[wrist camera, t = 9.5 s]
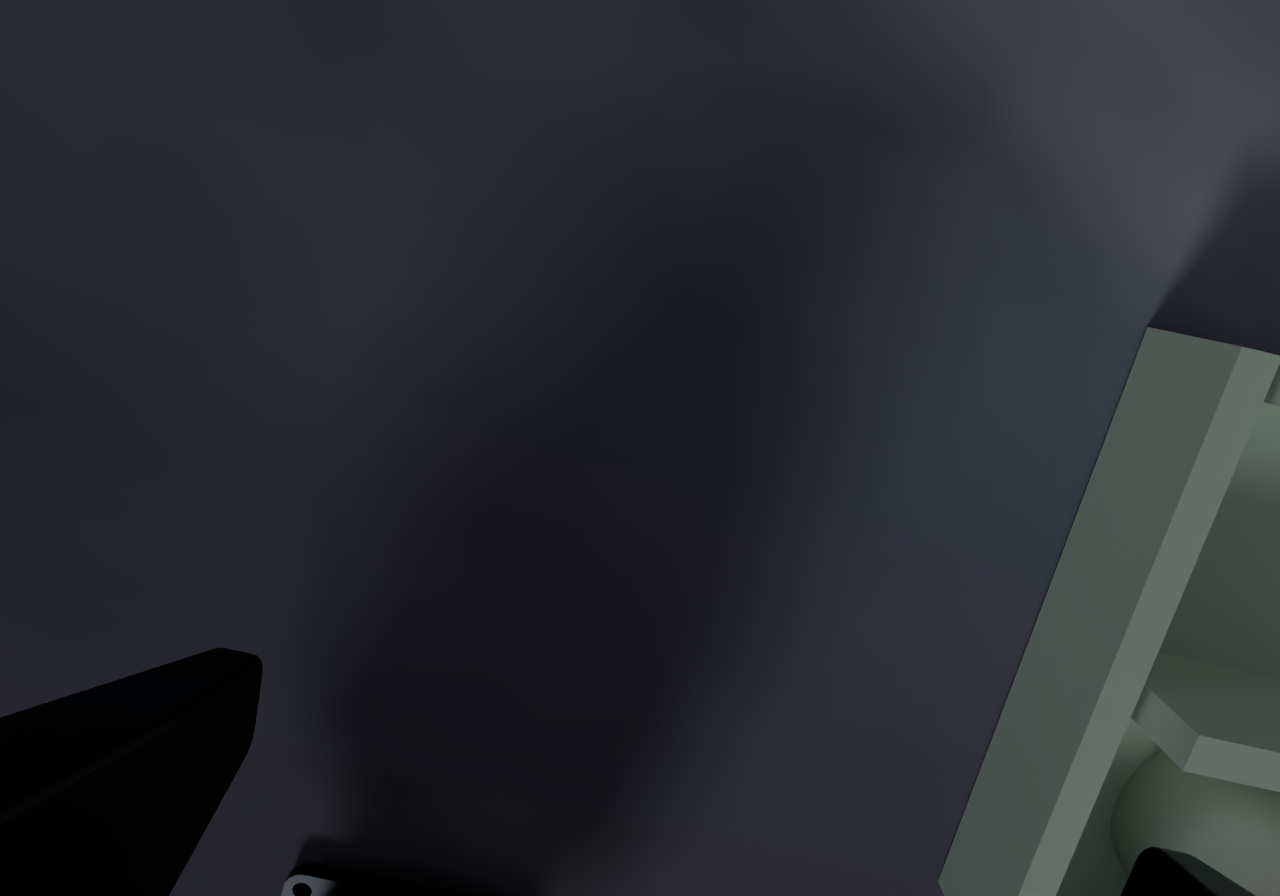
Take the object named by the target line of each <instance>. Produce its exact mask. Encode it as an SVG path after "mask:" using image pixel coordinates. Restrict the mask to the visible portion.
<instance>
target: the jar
mask: <svg viewBox="0 0 1280 896" xmlns="http://www.w3.org/2000/svg"><path fill="white" fill-rule="evenodd" d="M1111 834H1112V841H1113V845H1114V849H1115V852H1116V854H1117V857H1118V859H1119V861H1120V863H1121V864H1122V866H1123V867H1124V868H1125V870H1126V871H1127V873H1128V874H1129V875H1130V873H1131V870H1132V868H1133V866H1134V864H1135V861H1136V859H1137V857H1138V855H1139V854H1140V853H1141V852H1142V851H1143V850H1144V849H1146V848H1149V847H1160V848H1165V849H1170V850H1175V851H1179V852H1184V853H1187V854H1190V855H1192V856H1194V857H1196V858H1198V859H1199V860H1201V861H1202V862H1204V863H1206V864H1207V865H1209V866H1210V867H1212V868H1213V869H1215V870H1216V871H1218V872H1220V873H1221V874H1223V875H1224V876H1226V877H1227V878H1229V879H1230V880H1232V881H1234V882H1235V883H1237V884H1238V885H1240V886H1241V887H1243V888H1245V889H1246V890H1248V891H1249V892H1251V893H1252V894H1254V895H1255V896H1280V792H1277V791H1272V790H1267V789H1263V788H1258V787H1254V786H1249V785H1244V784H1240V783H1235V782H1230V781H1226V780H1221V779H1217V778H1212V777H1207V776H1203V775H1198V774H1194V773H1189V772H1184V771H1182V770H1181V769H1180V768H1179V767H1178V766H1177V765H1176V763H1175V762H1174V761H1173V760H1172V759H1171V758H1170V757H1169V756H1168V755H1167V754H1166V753H1165V752H1164V751H1163V750H1161V751H1159V752H1158V753H1156V754H1155V755H1153V756H1152V757H1151V758H1149V759H1148V760H1147V761H1146V762H1144V763H1143V764H1142V765H1141V766H1140V767H1139V768H1138V769H1137V770H1136V771H1135V772H1134V773H1133V775H1132V776H1131V777H1130V778H1129V779H1128V781H1127V782H1126V784H1125V785H1124V787H1123V789H1122V790H1121V792H1120V795H1119V797H1118V799H1117V801H1116V804H1115V807H1114V810H1113V816H1112V823H1111Z"/></svg>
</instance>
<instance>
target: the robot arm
mask: <svg viewBox="0 0 1280 896" xmlns="http://www.w3.org/2000/svg"><path fill="white" fill-rule="evenodd" d="M262 671H263V669H262V662H261V660H260V658H259V657H258V656H256V655H254V654H250V653H245V652H241V651H236V650H231V649H227V648H215V649H212V650H209V651H206V652H203V653H199V654H196V655H193V656H190V657H187V658H184V659H181V660H178V661H175V662H172V663H168V664H165V665H162V666H159V667H156V668H153V669H150V670H147V671H144V672H140V673H137V674H134V675H131V676H128V677H125V678H122V679H119V680H116V681H113V682H109V683H106V684H103V685H100V686H97V687H94V688H91V689H88V690H85V691H81V692H78V693H75V694H72V695H69V696H66V697H63V698H60V699H57V700H54V701H50V702H47V703H44V704H41V705H38V706H35V707H32V708H29V709H26V710H22V711H19V712H16V713H13V714H10V715H7V716H4V717H1V718H0V896H169V894H170V892H171V891H172V889H173V887H174V885H175V884H176V882H177V880H178V879H179V877H180V875H181V873H182V872H183V870H184V868H185V866H186V864H187V862H188V861H189V859H190V857H191V855H192V853H193V852H194V850H195V848H196V846H197V844H198V842H199V841H200V839H201V837H202V835H203V833H204V832H205V830H206V828H207V826H208V824H209V822H210V821H211V819H212V817H213V815H214V813H215V812H216V810H217V808H218V806H219V804H220V802H221V801H222V799H223V797H224V795H225V793H226V791H227V790H228V788H229V786H230V784H231V782H232V781H233V779H234V777H235V775H236V773H237V771H238V770H239V768H240V766H241V764H242V762H243V761H244V759H245V757H246V755H247V753H248V750H249V748H250V745H251V742H252V739H253V735H254V731H255V724H256V717H257V709H258V702H259V694H260V687H261V680H262ZM300 883H305V884H307V885H309V887H310V888H306V887H304V886H302V885H301V884H300ZM282 896H465V895H460V894H455V893H450V892H445V891H440V890H435V889H430V888H425V887H420V886H415V885H410V884H405V883H400V882H396V881H391V880H386V879H381V878H376V877H371V876H366V875H361V874H356V873H351V872H346V871H341V870H336V869H332V868H327V867H322V866H317V865H312V864H301V865H298V866H296V867H295V868H294V869H293V870H292V871H291V872H290V874H289V876H288V878H287V879H286V881H285V884H284V886H283V891H282ZM1120 896H1255V895H1254V894H1252V893H1251V892H1249V891H1248V890H1246V889H1245V888H1243V887H1241V886H1240V885H1238V884H1237V883H1235V882H1234V881H1232V880H1230V879H1229V878H1227V877H1226V876H1224V875H1223V874H1221V873H1220V872H1218V871H1216V870H1215V869H1213V868H1212V867H1210V866H1209V865H1207V864H1206V863H1204V862H1202V861H1201V860H1199V859H1198V858H1196V857H1194V856H1192V855H1190V854H1187V853H1184V852H1179V851H1175V850H1170V849H1165V848H1160V847H1149V848H1146V849H1144V850H1143V851H1142V852H1141V853H1140V854H1139V855H1138V857H1137V859H1136V861H1135V864H1134V866H1133V868H1132V870H1131V873H1130V875H1129V877H1128V879H1127V882H1126V884H1125V886H1124V888H1123V891H1122V893H1121V895H1120Z"/></svg>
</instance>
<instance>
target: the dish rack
mask: <svg viewBox="0 0 1280 896" xmlns="http://www.w3.org/2000/svg"><path fill="white" fill-rule="evenodd" d="M1161 750H1163V751H1164V752H1165V753H1166V754H1167V755H1168V756H1169V757H1170V758H1171V759H1172V760H1173V761H1174V762H1175V763H1176V765H1177V766H1178V767H1179V768H1180V769H1181V770H1182V771H1184V772H1189V773H1194V774H1198V775H1203V776H1207V777H1212V778H1217V779H1221V780H1226V781H1230V782H1235V783H1240V784H1244V785H1249V786H1254V787H1258V788H1263V789H1267V790H1272V791H1277V792H1280V356H1279V355H1275V354H1271V353H1267V352H1263V351H1258V350H1254V349H1250V348H1246V347H1242V346H1237V345H1232V344H1227V343H1222V342H1218V341H1213V340H1208V339H1203V338H1198V337H1194V336H1189V335H1184V334H1179V333H1174V332H1170V331H1165V330H1160V329H1155V328H1150V327H1147V330H1146V332H1145V335H1144V337H1143V340H1142V343H1141V345H1140V348H1139V351H1138V353H1137V356H1136V359H1135V361H1134V364H1133V367H1132V369H1131V372H1130V375H1129V377H1128V380H1127V382H1126V385H1125V388H1124V390H1123V393H1122V396H1121V398H1120V401H1119V404H1118V406H1117V409H1116V412H1115V414H1114V417H1113V419H1112V422H1111V425H1110V427H1109V430H1108V433H1107V435H1106V438H1105V441H1104V443H1103V446H1102V449H1101V451H1100V454H1099V457H1098V459H1097V462H1096V464H1095V467H1094V470H1093V472H1092V475H1091V478H1090V480H1089V483H1088V486H1087V488H1086V491H1085V494H1084V496H1083V499H1082V502H1081V504H1080V507H1079V509H1078V512H1077V515H1076V517H1075V520H1074V523H1073V525H1072V528H1071V531H1070V533H1069V536H1068V539H1067V541H1066V544H1065V547H1064V549H1063V552H1062V554H1061V557H1060V560H1059V562H1058V565H1057V568H1056V570H1055V573H1054V576H1053V578H1052V581H1051V584H1050V586H1049V589H1048V592H1047V594H1046V597H1045V599H1044V602H1043V605H1042V607H1041V610H1040V613H1039V615H1038V618H1037V621H1036V623H1035V626H1034V629H1033V631H1032V634H1031V637H1030V639H1029V642H1028V644H1027V647H1026V650H1025V652H1024V655H1023V658H1022V660H1021V663H1020V666H1019V668H1018V671H1017V674H1016V676H1015V679H1014V681H1013V684H1012V687H1011V689H1010V692H1009V695H1008V697H1007V700H1006V703H1005V705H1004V708H1003V711H1002V713H1001V716H1000V719H999V721H998V724H997V726H996V729H995V732H994V734H993V737H992V740H991V742H990V745H989V748H988V750H987V753H986V756H985V758H984V761H983V764H982V766H981V769H980V771H979V774H978V777H977V779H976V782H975V785H974V787H973V790H972V793H971V795H970V798H969V801H968V803H967V806H966V809H965V811H964V814H963V816H962V819H961V822H960V824H959V827H958V830H957V832H956V835H955V838H954V840H953V843H952V846H951V848H950V851H949V854H948V856H947V859H946V861H945V864H944V867H943V869H942V872H941V875H940V877H939V880H938V882H939V884H940V887H941V889H942V891H943V894H944V896H1120V895H1121V893H1122V891H1123V888H1124V886H1125V884H1126V882H1127V879H1128V877H1129V874H1128V873H1127V871H1126V870H1125V868H1124V867H1123V866H1122V864H1121V863H1120V861H1119V859H1118V857H1117V854H1116V852H1115V849H1114V845H1113V841H1112V834H1111V823H1112V816H1113V810H1114V807H1115V804H1116V801H1117V799H1118V797H1119V795H1120V792H1121V790H1122V789H1123V787H1124V785H1125V784H1126V782H1127V781H1128V779H1129V778H1130V777H1131V776H1132V775H1133V773H1134V772H1135V771H1136V770H1137V769H1138V768H1139V767H1140V766H1141V765H1142V764H1143V763H1144V762H1146V761H1147V760H1148V759H1149V758H1151V757H1152V756H1153V755H1155V754H1156V753H1158V752H1159V751H1161Z"/></svg>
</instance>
